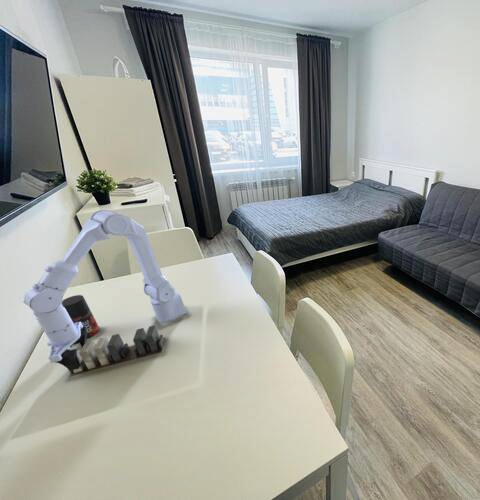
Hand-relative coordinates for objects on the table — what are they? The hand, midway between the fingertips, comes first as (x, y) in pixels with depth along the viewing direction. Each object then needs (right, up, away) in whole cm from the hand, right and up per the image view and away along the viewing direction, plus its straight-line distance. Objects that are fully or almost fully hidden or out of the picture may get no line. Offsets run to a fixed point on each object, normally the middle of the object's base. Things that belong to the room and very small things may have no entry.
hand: (79, 361), depth 81 cm
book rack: (+9, -1, +4) cm, 10 cm away
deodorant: (-9, +3, +14) cm, 17 cm away
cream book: (0, -2, +1) cm, 2 cm away
